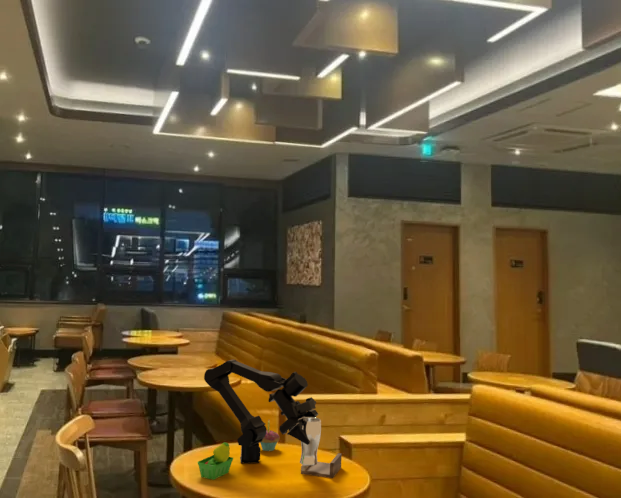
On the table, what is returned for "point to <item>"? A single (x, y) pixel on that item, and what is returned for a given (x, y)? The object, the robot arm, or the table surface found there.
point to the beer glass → (310, 440)
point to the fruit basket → (216, 463)
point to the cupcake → (269, 440)
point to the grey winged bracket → (323, 468)
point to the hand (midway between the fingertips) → (313, 441)
